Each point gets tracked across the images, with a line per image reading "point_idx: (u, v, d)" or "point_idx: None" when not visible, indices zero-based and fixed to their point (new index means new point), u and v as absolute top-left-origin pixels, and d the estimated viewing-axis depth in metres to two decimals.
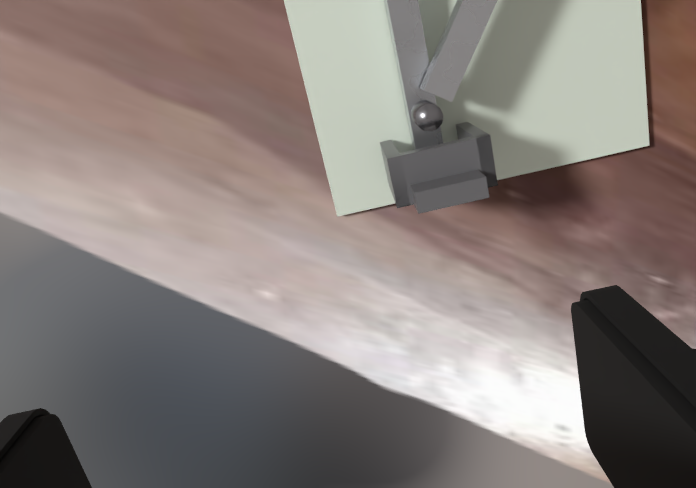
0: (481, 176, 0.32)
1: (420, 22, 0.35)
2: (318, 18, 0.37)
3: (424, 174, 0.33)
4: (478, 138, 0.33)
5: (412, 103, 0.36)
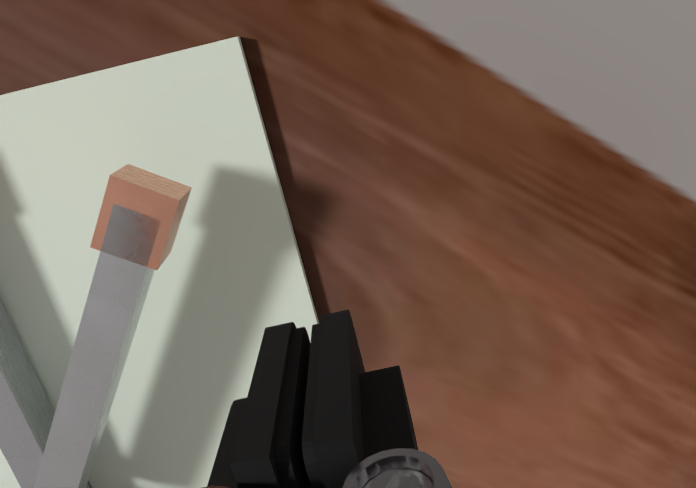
0: None
1: (29, 431, 0.27)
2: None
3: None
4: None
5: None
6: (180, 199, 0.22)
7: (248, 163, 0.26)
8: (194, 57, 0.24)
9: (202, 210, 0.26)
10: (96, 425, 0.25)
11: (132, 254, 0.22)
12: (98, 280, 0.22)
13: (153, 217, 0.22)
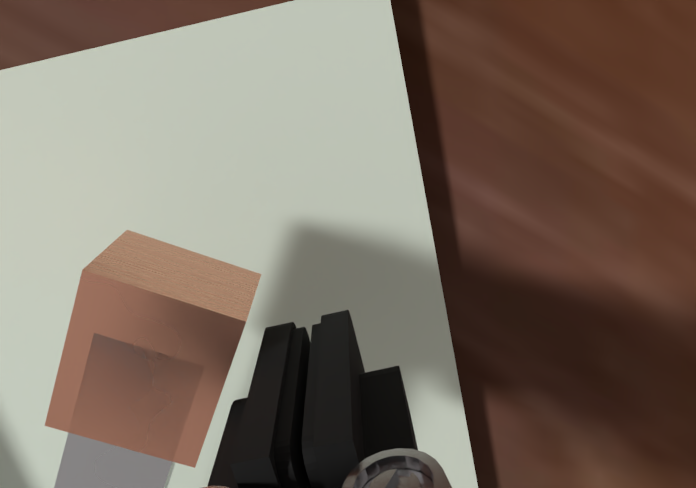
0: None
1: None
2: None
3: None
4: None
5: None
6: (247, 316, 0.09)
7: (385, 226, 0.13)
8: (297, 20, 0.12)
9: (292, 309, 0.14)
10: None
11: (138, 437, 0.10)
12: None
13: (186, 357, 0.09)
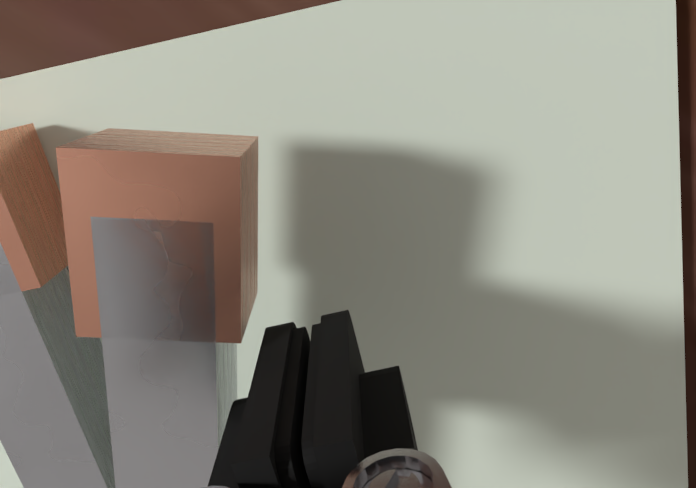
0: None
1: None
2: None
3: None
4: None
5: None
6: (242, 156, 0.09)
7: (634, 183, 0.13)
8: None
9: (527, 270, 0.14)
10: None
11: (173, 323, 0.09)
12: (121, 403, 0.10)
13: (193, 220, 0.09)
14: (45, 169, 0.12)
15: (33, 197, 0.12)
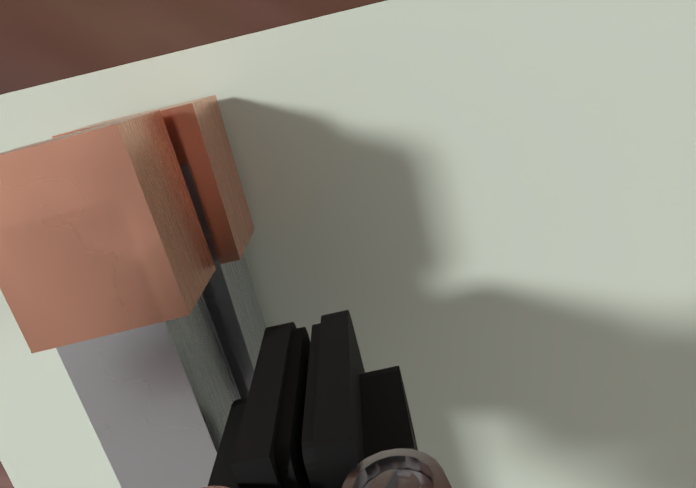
0: None
1: None
2: None
3: None
4: None
5: None
6: (123, 124, 0.08)
7: None
8: None
9: None
10: None
11: (117, 313, 0.09)
12: (98, 409, 0.09)
13: (98, 203, 0.08)
14: (227, 142, 0.12)
15: (225, 168, 0.11)
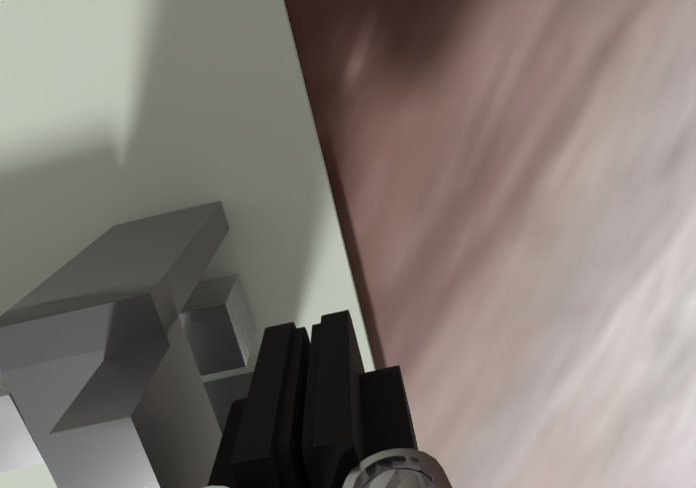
0: None
1: None
2: None
3: None
4: None
5: None
6: None
7: None
8: None
9: None
10: None
11: None
12: None
13: None
14: None
15: None
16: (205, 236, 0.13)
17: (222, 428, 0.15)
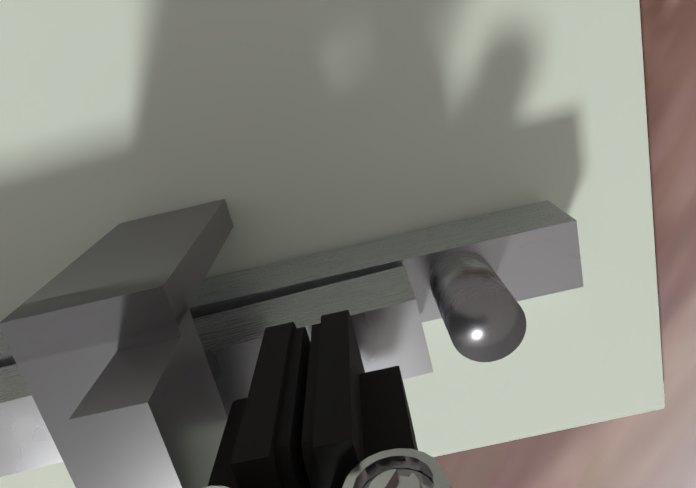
0: None
1: (248, 298, 0.14)
2: None
3: None
4: (15, 356, 0.10)
5: (436, 306, 0.15)
6: None
7: None
8: None
9: None
10: None
11: None
12: None
13: None
14: None
15: None
16: (211, 233, 0.14)
17: None
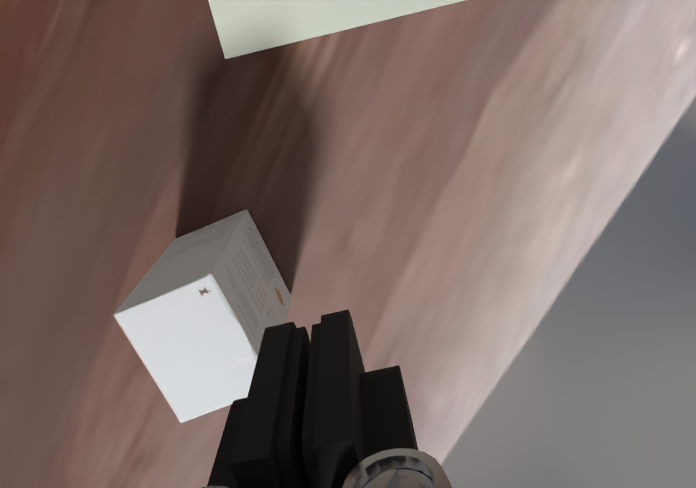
0: None
1: None
2: None
3: None
4: None
5: None
6: None
7: None
8: None
9: None
10: None
11: None
12: None
13: None
14: None
15: None
16: None
17: None
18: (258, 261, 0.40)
